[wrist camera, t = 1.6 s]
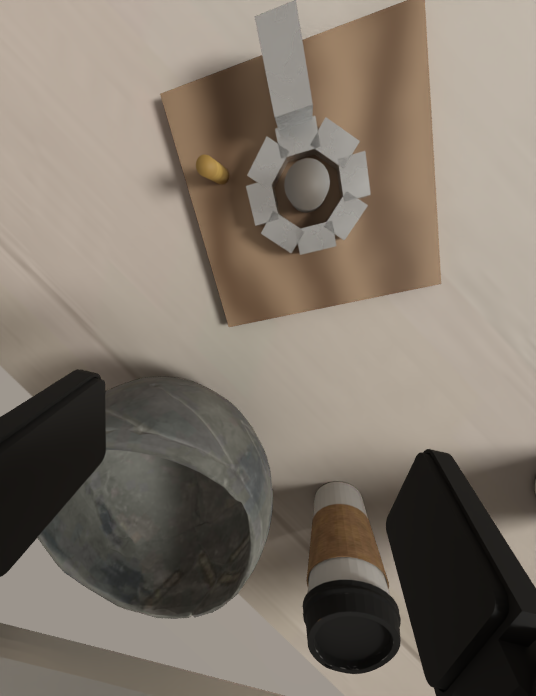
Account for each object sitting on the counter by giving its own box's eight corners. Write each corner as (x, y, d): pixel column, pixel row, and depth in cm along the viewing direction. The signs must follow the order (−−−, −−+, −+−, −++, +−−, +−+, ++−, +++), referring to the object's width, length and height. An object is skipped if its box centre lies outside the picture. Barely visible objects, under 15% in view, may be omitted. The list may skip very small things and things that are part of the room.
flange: (345, 28, 22) (354, -25, 17) (371, 236, 27) (384, 237, 22) (223, 74, 24) (202, 37, 19) (267, 261, 28) (259, 267, 24)
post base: (418, 5, 22) (465, -90, 16) (436, 281, 29) (474, 297, 22) (166, 99, 26) (117, 55, 20) (231, 323, 33) (211, 348, 26)
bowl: (218, 519, 43) (175, 657, 29) (88, 431, 40) (-28, 538, 27) (319, 425, 36) (326, 550, 22) (168, 310, 33) (65, 370, 19)
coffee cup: (291, 504, 41) (282, 647, 27) (329, 461, 37) (341, 600, 24) (345, 533, 41) (364, 689, 27) (387, 494, 38) (431, 648, 24)
